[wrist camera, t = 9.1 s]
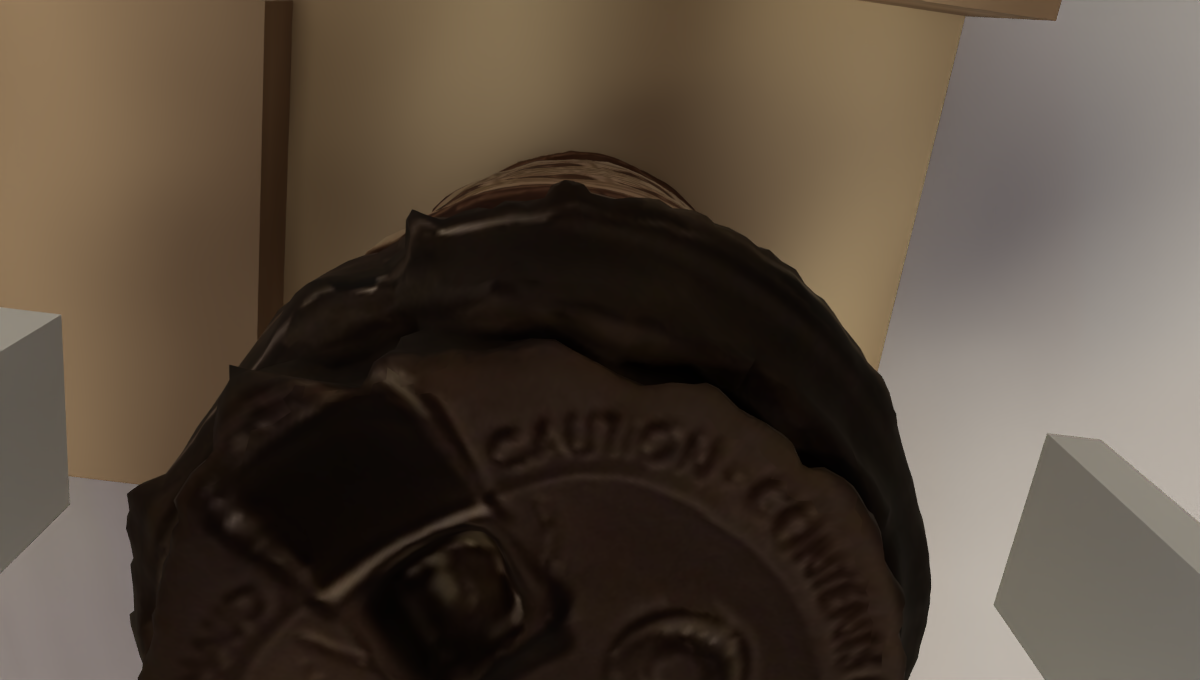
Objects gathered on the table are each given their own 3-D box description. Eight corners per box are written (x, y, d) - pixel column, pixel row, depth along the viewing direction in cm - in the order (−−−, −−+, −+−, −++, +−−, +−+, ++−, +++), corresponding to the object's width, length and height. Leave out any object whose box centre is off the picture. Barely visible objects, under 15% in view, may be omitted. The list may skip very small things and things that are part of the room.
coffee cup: (381, 55, 19) (2, 160, 7) (797, 102, 20) (1127, 285, 7) (367, 452, 22) (80, 1018, 10) (730, 488, 22) (885, 1080, 10)
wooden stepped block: (-398, 458, 23) (-642, 571, 19) (-558, -266, 18) (-943, -353, 14) (809, 600, 24) (857, 737, 20) (964, -37, 20) (1075, -48, 15)
